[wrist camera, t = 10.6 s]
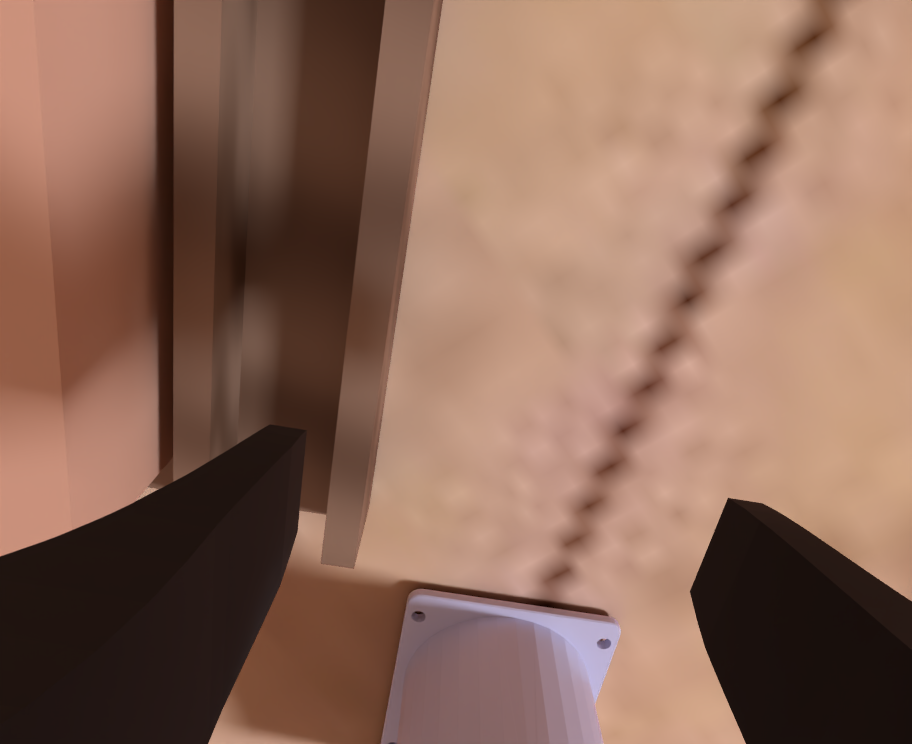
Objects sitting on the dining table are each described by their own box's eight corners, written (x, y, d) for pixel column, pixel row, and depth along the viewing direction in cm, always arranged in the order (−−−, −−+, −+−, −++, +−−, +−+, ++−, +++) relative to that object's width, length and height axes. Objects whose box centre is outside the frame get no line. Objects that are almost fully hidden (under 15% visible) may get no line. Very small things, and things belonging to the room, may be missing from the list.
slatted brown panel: (368, 506, 22) (353, 568, 19) (-50, 442, 21) (-134, 495, 18) (474, -221, 14) (477, -310, 11) (-174, -364, 13) (-355, -500, 10)
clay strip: (183, 444, 20) (74, 571, 14) (120, 434, 20) (-14, 558, 14) (189, -175, 14) (6, -369, 8) (98, -194, 14) (-149, -403, 8)
